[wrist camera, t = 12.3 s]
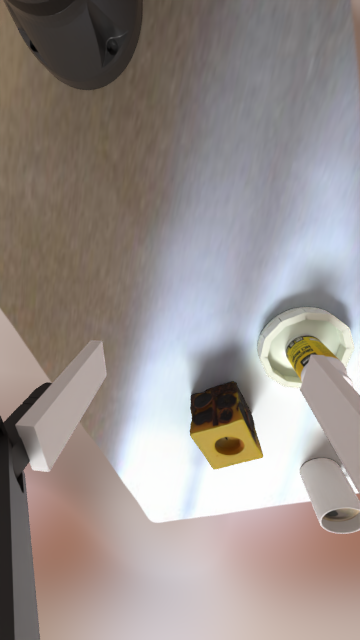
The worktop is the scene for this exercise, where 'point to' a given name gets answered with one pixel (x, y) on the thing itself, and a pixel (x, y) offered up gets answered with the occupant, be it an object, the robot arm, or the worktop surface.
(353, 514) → the mug
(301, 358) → the pill bottle
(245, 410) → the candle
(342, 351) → the sage dish
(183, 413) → the worktop surface
